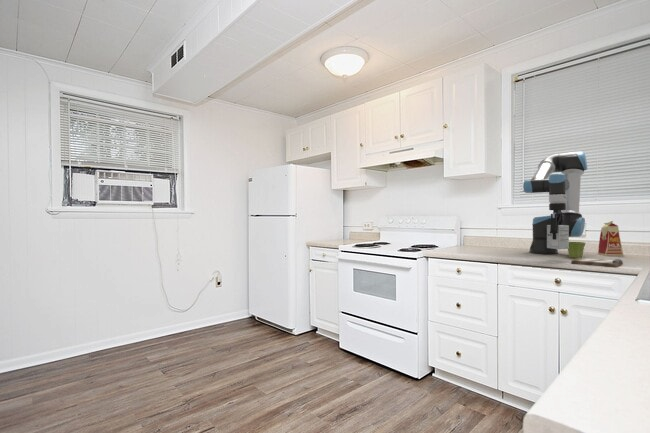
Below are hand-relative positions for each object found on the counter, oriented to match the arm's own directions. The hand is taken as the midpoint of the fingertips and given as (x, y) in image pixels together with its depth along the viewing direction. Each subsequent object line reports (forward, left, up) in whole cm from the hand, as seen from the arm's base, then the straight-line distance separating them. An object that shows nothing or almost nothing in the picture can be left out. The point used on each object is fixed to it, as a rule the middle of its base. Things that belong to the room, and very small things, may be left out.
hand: (557, 244), depth 193 cm
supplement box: (0, 0, -2) cm, 2 cm away
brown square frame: (+17, 0, -8) cm, 19 cm away
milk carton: (+15, +44, -9) cm, 47 cm away
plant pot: (+4, +18, -9) cm, 20 cm away
